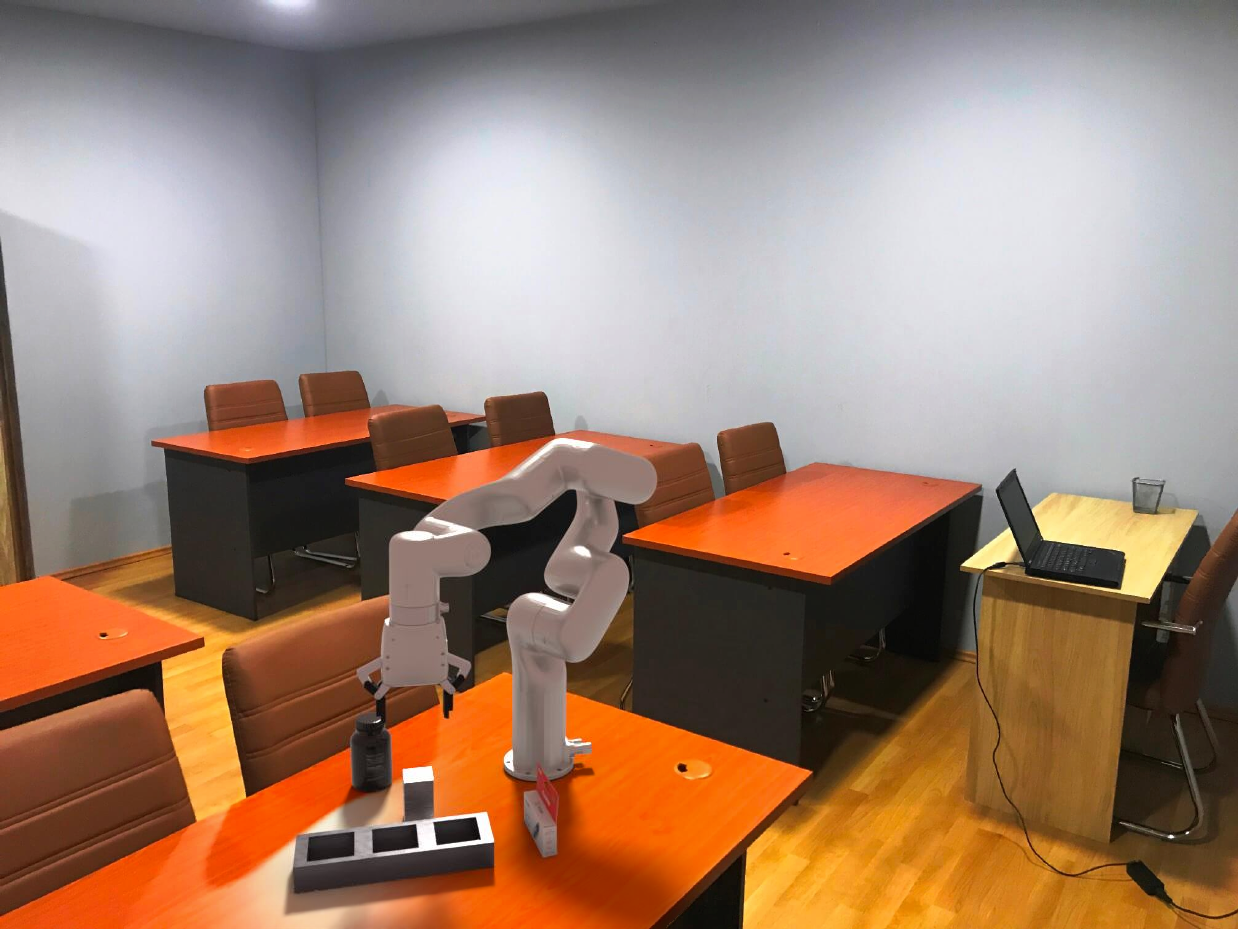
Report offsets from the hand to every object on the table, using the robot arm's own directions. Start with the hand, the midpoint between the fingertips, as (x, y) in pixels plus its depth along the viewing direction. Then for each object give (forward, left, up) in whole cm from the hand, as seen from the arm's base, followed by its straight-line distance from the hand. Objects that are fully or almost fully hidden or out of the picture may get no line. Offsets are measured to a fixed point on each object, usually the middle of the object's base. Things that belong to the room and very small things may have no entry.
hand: (414, 717), depth 149 cm
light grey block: (0, 0, -18) cm, 18 cm away
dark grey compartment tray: (+4, +11, -18) cm, 21 cm away
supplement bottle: (+7, -14, -18) cm, 24 cm away
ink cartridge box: (-18, +9, -18) cm, 27 cm away
